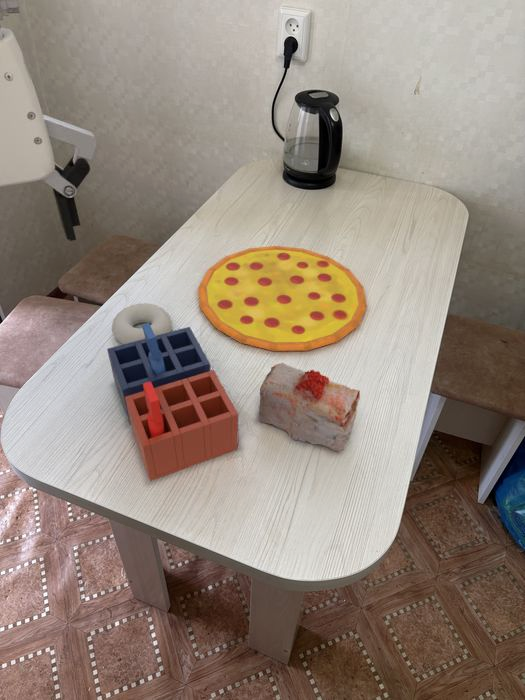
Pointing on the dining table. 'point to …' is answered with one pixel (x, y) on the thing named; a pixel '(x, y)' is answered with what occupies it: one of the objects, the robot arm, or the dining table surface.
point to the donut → (140, 314)
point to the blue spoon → (153, 350)
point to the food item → (308, 406)
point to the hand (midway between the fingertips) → (12, 243)
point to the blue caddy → (135, 366)
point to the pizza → (282, 298)
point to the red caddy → (185, 424)
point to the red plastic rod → (153, 411)
